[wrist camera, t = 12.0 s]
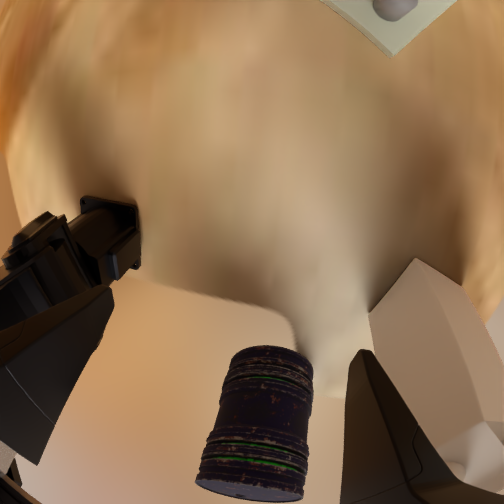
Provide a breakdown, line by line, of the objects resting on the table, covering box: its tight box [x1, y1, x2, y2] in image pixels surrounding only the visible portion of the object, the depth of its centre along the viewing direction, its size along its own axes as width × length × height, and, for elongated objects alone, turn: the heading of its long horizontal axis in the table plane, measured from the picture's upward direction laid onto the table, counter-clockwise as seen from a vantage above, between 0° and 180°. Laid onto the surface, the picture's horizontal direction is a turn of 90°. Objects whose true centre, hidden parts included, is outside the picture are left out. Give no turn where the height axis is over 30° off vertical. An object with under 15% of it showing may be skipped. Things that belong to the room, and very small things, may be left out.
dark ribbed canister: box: [195, 345, 314, 503], centre depth 24 cm, size 10×10×15 cm
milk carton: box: [368, 258, 504, 493], centre depth 14 cm, size 7×7×19 cm
